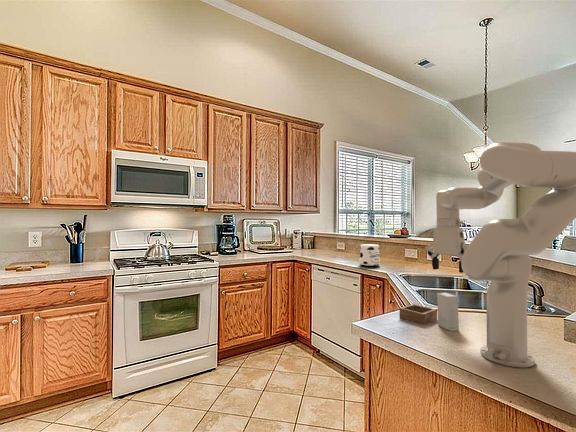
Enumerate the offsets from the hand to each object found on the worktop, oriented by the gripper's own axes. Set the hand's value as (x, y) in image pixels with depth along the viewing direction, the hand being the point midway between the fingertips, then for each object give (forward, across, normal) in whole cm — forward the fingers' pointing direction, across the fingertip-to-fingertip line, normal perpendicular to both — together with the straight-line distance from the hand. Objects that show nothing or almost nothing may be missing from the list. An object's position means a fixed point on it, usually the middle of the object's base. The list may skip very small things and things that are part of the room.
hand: (448, 270), depth 115 cm
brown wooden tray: (+20, +12, +1) cm, 24 cm away
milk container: (+18, +116, -95) cm, 151 cm away
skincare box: (+21, 0, +1) cm, 21 cm away
